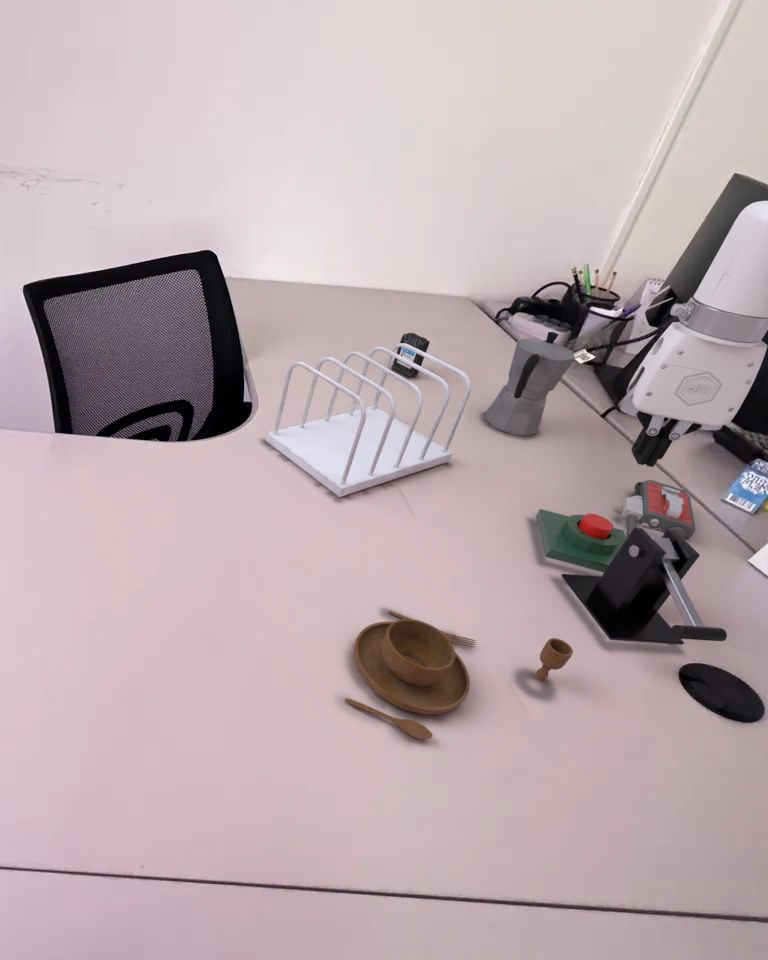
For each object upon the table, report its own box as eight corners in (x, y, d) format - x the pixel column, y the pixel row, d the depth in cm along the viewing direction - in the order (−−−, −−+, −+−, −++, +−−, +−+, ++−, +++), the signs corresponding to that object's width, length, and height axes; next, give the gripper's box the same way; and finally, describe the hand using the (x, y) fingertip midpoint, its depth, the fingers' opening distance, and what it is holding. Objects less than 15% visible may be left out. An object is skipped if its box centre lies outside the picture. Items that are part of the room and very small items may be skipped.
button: (604, 527, 93) (610, 517, 92) (610, 543, 90) (616, 532, 89) (575, 520, 94) (581, 510, 93) (580, 535, 91) (586, 525, 90)
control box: (615, 541, 97) (629, 520, 95) (632, 586, 89) (648, 563, 87) (533, 520, 99) (545, 498, 97) (542, 561, 92) (556, 539, 89)
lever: (715, 645, 73) (733, 636, 71) (671, 642, 73) (688, 633, 71) (666, 549, 81) (680, 538, 79) (625, 546, 80) (639, 535, 78)
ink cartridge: (390, 368, 141) (402, 332, 136) (397, 367, 142) (409, 331, 137) (410, 378, 137) (423, 342, 133) (417, 376, 138) (430, 340, 134)
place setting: (371, 601, 82) (386, 565, 79) (550, 677, 75) (575, 640, 71) (330, 701, 69) (346, 664, 66) (542, 805, 62) (572, 768, 58)
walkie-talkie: (618, 485, 110) (618, 548, 96) (632, 462, 108) (634, 524, 93) (681, 505, 107) (691, 574, 92) (697, 482, 104) (710, 550, 90)
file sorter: (370, 414, 123) (398, 334, 114) (449, 463, 111) (486, 378, 102) (264, 441, 111) (285, 354, 103) (338, 499, 99) (369, 406, 91)
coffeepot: (496, 403, 131) (536, 315, 121) (547, 422, 126) (593, 332, 116) (467, 428, 122) (508, 335, 111) (521, 450, 117) (569, 354, 106)
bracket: (679, 649, 80) (739, 576, 73) (606, 644, 80) (660, 570, 73) (623, 584, 89) (672, 514, 82) (557, 580, 89) (601, 509, 82)
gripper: (657, 320, 74) (582, 460, 84) (820, 347, 70) (720, 490, 80) (640, 299, 80) (572, 433, 90) (788, 323, 76) (700, 460, 86)
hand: (642, 460), depth 85 cm, fingers closed
